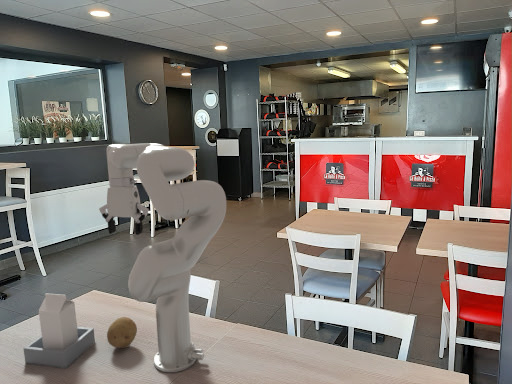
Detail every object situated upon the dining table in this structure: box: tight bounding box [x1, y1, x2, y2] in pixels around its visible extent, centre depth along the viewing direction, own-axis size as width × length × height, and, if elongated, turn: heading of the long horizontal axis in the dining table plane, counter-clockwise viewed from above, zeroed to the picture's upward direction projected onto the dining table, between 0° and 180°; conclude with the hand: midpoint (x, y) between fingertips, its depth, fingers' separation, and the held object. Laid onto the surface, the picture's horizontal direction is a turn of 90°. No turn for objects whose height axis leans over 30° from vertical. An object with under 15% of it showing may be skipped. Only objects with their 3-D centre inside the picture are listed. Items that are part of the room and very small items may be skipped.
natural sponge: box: [106, 316, 138, 349], centre depth 125 cm, size 9×9×10 cm
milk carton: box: [38, 292, 78, 351], centre depth 122 cm, size 7×7×19 cm
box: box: [23, 326, 96, 369], centre depth 124 cm, size 14×14×5 cm
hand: (125, 233), depth 132 cm, fingers open, 9 cm apart
